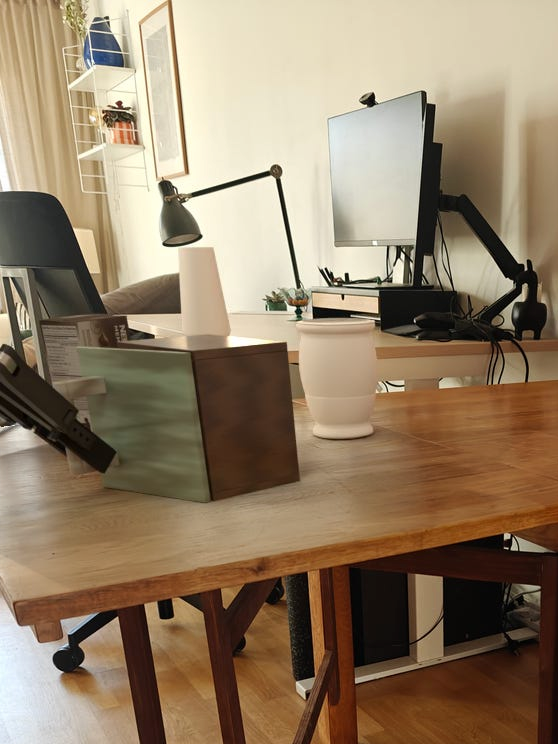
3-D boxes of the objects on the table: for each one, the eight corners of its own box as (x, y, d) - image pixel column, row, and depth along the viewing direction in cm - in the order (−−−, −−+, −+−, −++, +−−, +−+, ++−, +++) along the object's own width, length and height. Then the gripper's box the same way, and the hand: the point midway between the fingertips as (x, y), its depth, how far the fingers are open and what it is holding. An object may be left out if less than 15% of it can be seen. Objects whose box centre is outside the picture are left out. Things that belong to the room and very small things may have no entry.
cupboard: (214, 502, 88) (193, 350, 82) (140, 479, 97) (116, 341, 91) (300, 482, 96) (287, 341, 90) (224, 463, 105) (207, 334, 99)
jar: (396, 431, 122) (391, 319, 116) (347, 444, 114) (339, 324, 108) (339, 424, 127) (332, 316, 121) (289, 436, 119) (278, 321, 113)
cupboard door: (166, 516, 83) (140, 359, 77) (61, 498, 89) (30, 352, 83) (211, 501, 88) (190, 352, 82) (108, 485, 94) (82, 346, 88)
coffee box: (111, 436, 120) (89, 313, 113) (150, 439, 118) (129, 314, 111) (63, 450, 112) (35, 318, 106) (103, 453, 110) (77, 319, 104)
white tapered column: (194, 427, 126) (168, 247, 116) (196, 419, 132) (172, 247, 122) (241, 425, 128) (220, 247, 118) (241, 417, 134) (221, 247, 124)
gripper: (-187, 328, 72) (38, 481, 92) (-91, 337, 65) (130, 501, 85) (-137, 259, 74) (72, 423, 94) (-39, 260, 67) (166, 438, 87)
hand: (100, 460), depth 90 cm, fingers open, 2 cm apart
